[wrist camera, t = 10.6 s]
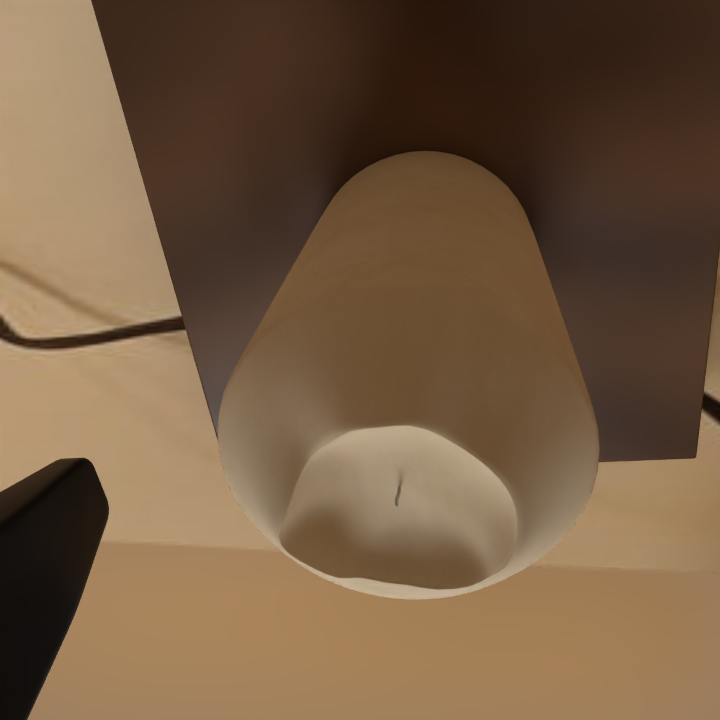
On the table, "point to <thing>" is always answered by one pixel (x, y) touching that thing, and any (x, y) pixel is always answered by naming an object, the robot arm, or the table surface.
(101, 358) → the table surface
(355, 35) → the dark wooden base block
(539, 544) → the candle
